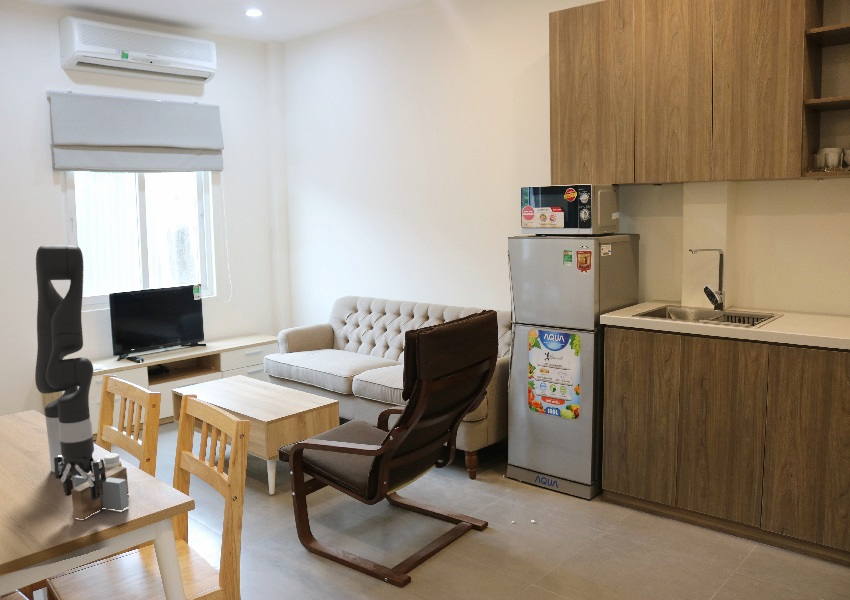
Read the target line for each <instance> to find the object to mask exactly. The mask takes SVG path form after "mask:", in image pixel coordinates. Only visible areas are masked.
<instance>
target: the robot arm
mask: <svg viewBox="0 0 850 600" xmlns="http://www.w3.org/2000/svg"><path fill="white" fill-rule="evenodd" d="M35 270H36V284H37V285H36V286H37V313H36V334H37V335H36V337H37V338H36V339H37V351H36V354H37V355H36V362H35V363H36V365H35V373H34V374H35V377H34V379H35V380H34V381H35V386H36V389H37V390H38V392H39V393H41V394H46V395H47V394H54V393H59V392H63V393H62V395H60V396H59V397H58V398H56V399H54V400H53V401H51V402H49V403H47V404H45V407H44V416H45V423H46V424H45V425H46V434H47V443H48V452H49V462H50V470H51V471H50V472H51V473H54V477H55V479H57V480H60V481H61V482H62V486H63V493H64V496H66V497H69V496H72V494H71V489H73V488H74V479H72V478H74V476H77V475H78V476H82V477H83V478H84V480H87V481H88V483H89V484H90V492H91V500H96V499H98V498H99V497H100V495H101V493H100V484H101V483H103V482H105V481H106V474H105V467H104V463H105V462H104V458H103V459H102V458H100V459H98V460H96V459H94V457H93V453H94V451H95V444H94V434H93V427H92V426H93V425H92V424H93V423H92V422H91V415H90V404H89V403H90V401H89V400H90V399H89V396H90V388H91V384H92V381H93V377H94V376H93V375H94V365H93V362H91V360H90V359H89V358H87V357H74V358H67V359H66V358H65V357H67V356H69V355H72V354H75V353H78V352H79V351H81V350H82V349H83V346H84V336H83V324H82V323H83V322H82V307H83V297H84V296H83V292H84V255H83V252H82V250H81V248H80V247H79V246H78V245H68V244H67V245H64V244H63V245H62V244H61V245H59V244H58V245H57V244H56V245H55V244H48V245H47V244H46V245H45V244H44V245H41V246H39V247H38V249H37V250H36V253H35ZM52 281H70V283H69V284H70V285H69V288H68V291H67V293H66V295H65V296H64V297H62V296H61V295H60V293H59V292H58V291H57V290H56V288H55V287H54V285H53V283H52ZM88 474H89V475H88ZM100 475H101V478H100ZM91 477H93V478H94V481H93V480H92V478H91Z"/></svg>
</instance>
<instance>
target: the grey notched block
mask: <svg viewBox="0 0 850 600" xmlns="http://www.w3.org/2000/svg"><path fill="white" fill-rule="evenodd" d="M89 474H90V473H88V475H89ZM91 478H92V479H93V477H91ZM85 482H87V480H84V478H83V477H82V476H78V475H74V476H73V486H74V488H75V487H77V486H79V485H81V484H83V483H85ZM102 487H103V495H102V496H101V506H102V508H106V509H115V510H123V509H124V508H126V507H128V506H129V496H128V495H127V484H126V480H125V479H118V478H111V477H109V478H107V479H106V481H105V482H103V483H102Z"/></svg>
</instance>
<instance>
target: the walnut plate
mask: <svg viewBox="0 0 850 600" xmlns="http://www.w3.org/2000/svg"><path fill="white" fill-rule="evenodd" d="M127 471H128V470H127V467H123V466H122V467H118V466H117V467H115V468H113V469H111V470H109V471H107V472H105V474H106V479H107V478H109V477H111V478H118V479H125V480H126V484H127V494H128V493H130V492H129V483H128V472H127ZM100 478H101V475H100ZM92 480H93V481H94V478H93V479H92ZM100 493H101V495H100V497H99V498H98V499H96V500H91V492H90V484H89V483H88V481H87V482H85V483H83V484H81V485H79V486H77V487H75V486H74V487H73V489H71V501H72V503H71V504H72V513H73V519H74V518H79V519H85V518H86V517H88V516H90V515H91V514H93V513H95V512H97V511H99V510H101V509H102V506H101V496H102V495H103V487H102V483H101V484H100Z"/></svg>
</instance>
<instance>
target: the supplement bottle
mask: <svg viewBox="0 0 850 600" xmlns="http://www.w3.org/2000/svg"><path fill="white" fill-rule="evenodd" d="M103 461H104V467H105V472H107V471H109V470H111V469H113V468H115V467H117V466H118V467H123V466H122V461H121V459H120V454H118V453H116V452H113V453H108V454H106V455H104V456H103Z"/></svg>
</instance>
